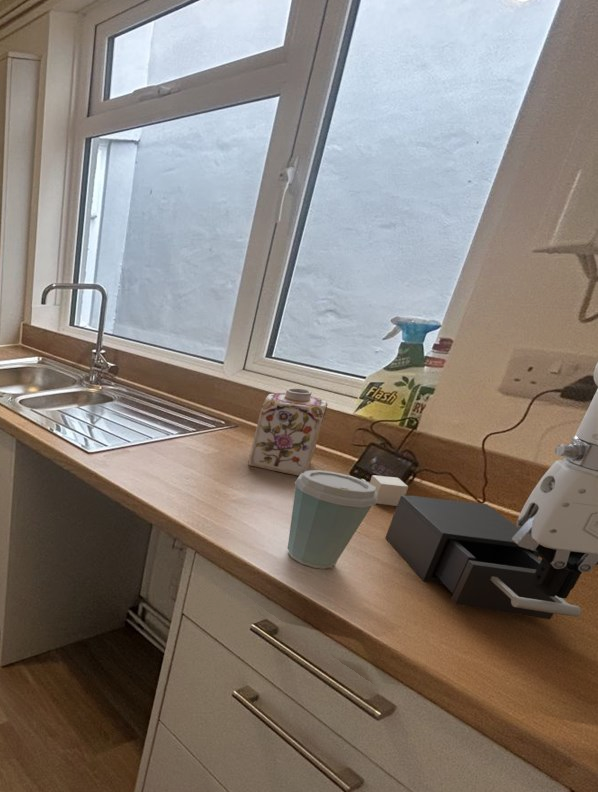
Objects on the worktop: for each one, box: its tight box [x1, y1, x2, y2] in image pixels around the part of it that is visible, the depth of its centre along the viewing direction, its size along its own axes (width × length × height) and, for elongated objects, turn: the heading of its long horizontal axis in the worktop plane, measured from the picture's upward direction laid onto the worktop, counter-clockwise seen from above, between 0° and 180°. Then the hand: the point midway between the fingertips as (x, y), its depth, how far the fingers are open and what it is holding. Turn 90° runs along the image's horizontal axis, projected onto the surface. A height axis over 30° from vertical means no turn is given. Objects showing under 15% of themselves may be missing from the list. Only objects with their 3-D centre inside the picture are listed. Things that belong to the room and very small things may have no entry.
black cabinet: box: [385, 495, 540, 585], centre depth 84 cm, size 14×12×9 cm
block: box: [369, 474, 409, 507], centre depth 106 cm, size 4×4×4 cm
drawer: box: [433, 538, 582, 620], centre depth 75 cm, size 19×10×7 cm, turn 161°
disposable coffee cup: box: [287, 469, 378, 570], centre depth 85 cm, size 11×11×15 cm
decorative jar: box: [247, 387, 329, 477], centre depth 121 cm, size 12×12×18 cm
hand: (548, 590), depth 67 cm, fingers closed
